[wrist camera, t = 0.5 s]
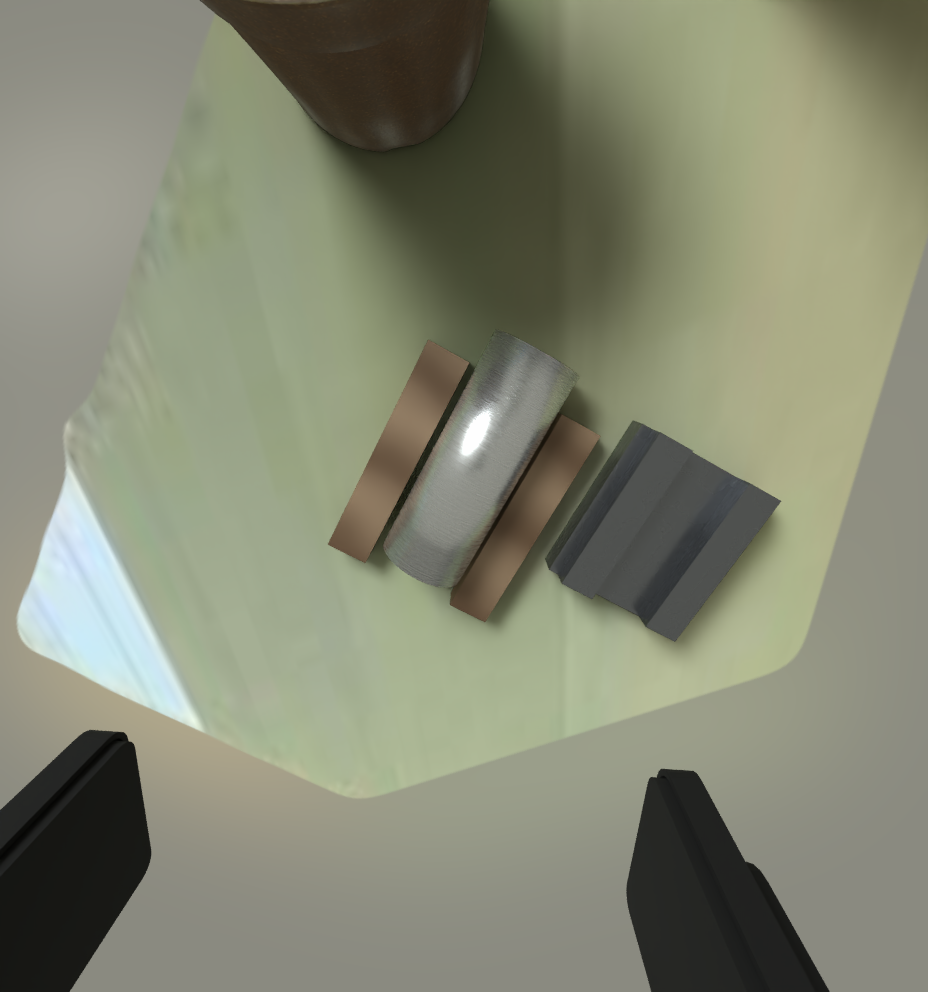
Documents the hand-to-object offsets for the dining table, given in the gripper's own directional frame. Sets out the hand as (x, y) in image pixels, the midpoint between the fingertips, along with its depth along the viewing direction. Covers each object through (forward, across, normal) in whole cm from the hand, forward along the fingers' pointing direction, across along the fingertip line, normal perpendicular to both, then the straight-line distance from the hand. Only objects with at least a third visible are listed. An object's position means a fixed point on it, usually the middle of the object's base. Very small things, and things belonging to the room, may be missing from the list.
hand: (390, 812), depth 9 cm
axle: (+27, -2, -1) cm, 27 cm away
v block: (+27, -15, +3) cm, 31 cm away
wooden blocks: (+27, 0, +1) cm, 27 cm away
